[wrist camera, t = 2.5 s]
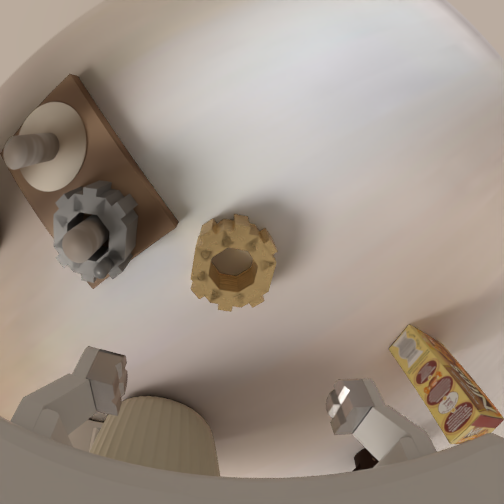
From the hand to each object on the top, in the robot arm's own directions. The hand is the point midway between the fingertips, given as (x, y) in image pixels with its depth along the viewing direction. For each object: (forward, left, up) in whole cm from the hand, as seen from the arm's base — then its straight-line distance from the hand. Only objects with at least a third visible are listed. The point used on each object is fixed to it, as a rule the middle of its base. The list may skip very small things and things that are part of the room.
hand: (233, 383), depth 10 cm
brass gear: (-2, +1, -16) cm, 16 cm away
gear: (+7, +8, -15) cm, 18 cm away
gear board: (+11, +8, -16) cm, 21 cm away
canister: (-16, +22, -16) cm, 31 cm away
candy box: (-25, -11, -16) cm, 32 cm away
